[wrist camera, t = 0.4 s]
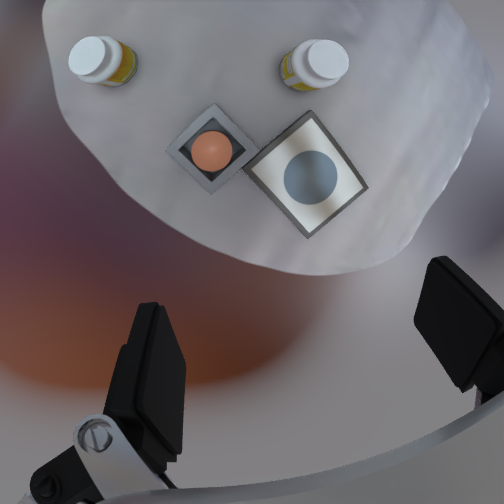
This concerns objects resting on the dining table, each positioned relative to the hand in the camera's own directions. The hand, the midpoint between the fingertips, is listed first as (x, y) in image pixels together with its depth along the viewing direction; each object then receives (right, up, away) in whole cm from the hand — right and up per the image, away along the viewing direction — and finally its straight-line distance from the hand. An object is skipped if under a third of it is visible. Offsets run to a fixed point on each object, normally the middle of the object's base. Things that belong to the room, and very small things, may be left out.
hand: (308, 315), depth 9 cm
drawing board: (+5, +12, +26) cm, 29 cm away
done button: (-6, +13, +20) cm, 25 cm away
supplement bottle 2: (+4, +24, +20) cm, 31 cm away
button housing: (-6, +15, +23) cm, 28 cm away
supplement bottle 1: (-18, +24, +17) cm, 35 cm away
